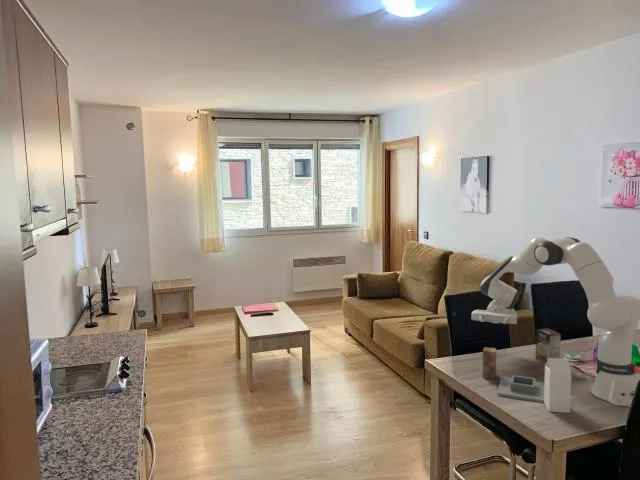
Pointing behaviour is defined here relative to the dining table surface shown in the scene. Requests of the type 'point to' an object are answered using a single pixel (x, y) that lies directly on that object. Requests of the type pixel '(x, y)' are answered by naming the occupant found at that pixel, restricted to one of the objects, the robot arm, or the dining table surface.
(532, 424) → the dining table surface
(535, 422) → the dining table surface
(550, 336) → the coffee box
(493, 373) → the walnut block
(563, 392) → the milk carton
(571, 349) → the pacifier
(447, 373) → the dining table surface
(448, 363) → the dining table surface
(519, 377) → the socket base
